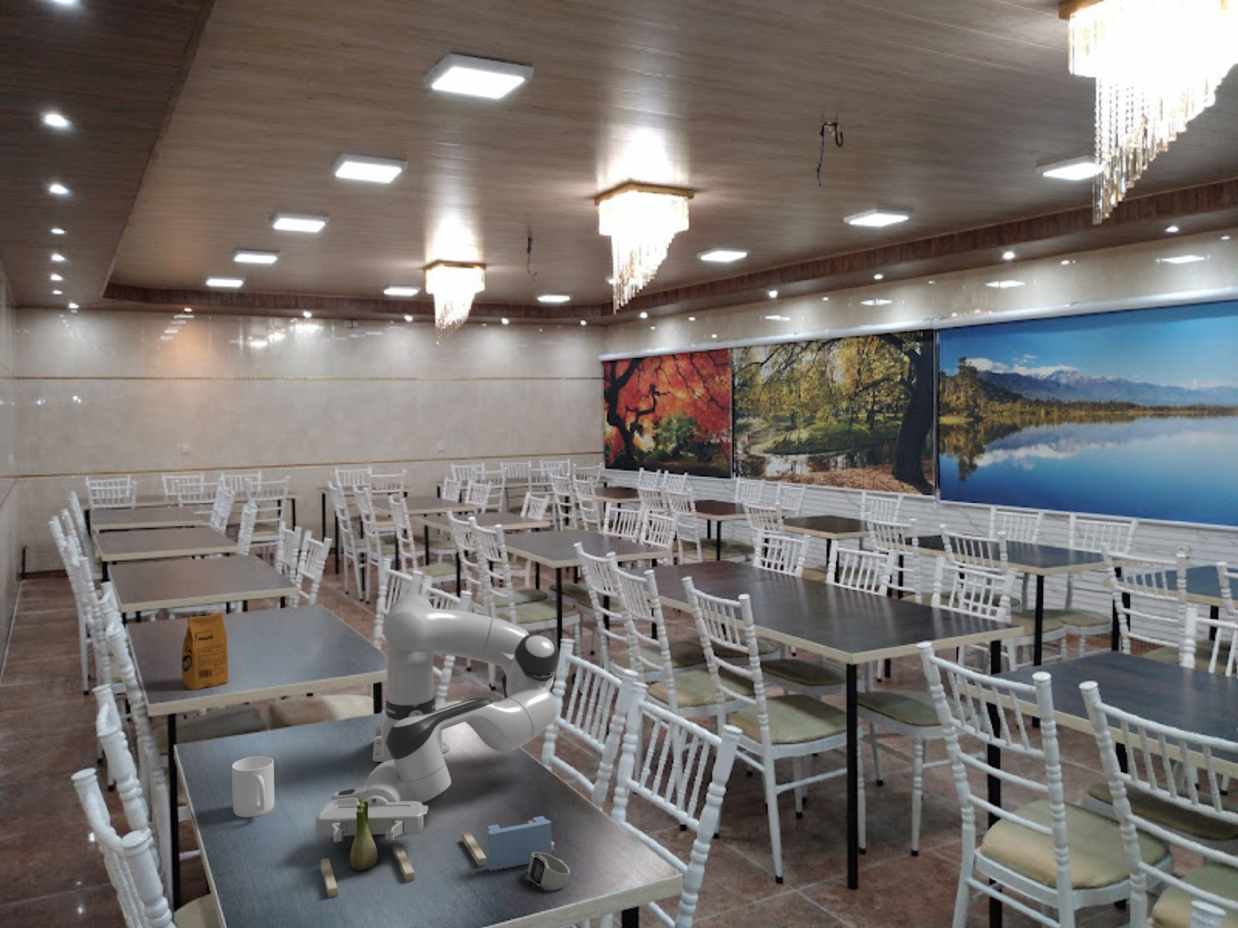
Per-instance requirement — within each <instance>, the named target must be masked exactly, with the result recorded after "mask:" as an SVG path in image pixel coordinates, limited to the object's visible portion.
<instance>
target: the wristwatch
mask: <svg viewBox="0 0 1238 928" xmlns="http://www.w3.org/2000/svg"><path fill="white" fill-rule="evenodd" d="M527 869H528V870H527V871H528V872H527V873H528V875H529V877H530V880H531V881H532V882H533V883H534V884H536V885H537V886H538V887H541V886H546V887H547V886H548V887H550V888H554V889H561V888H565V887H567V886H568V882H569V878H570V875H571V870H570V867H568V865H567V864H566V863H565V862H564V861H563V860H562V859H559V858H556V857H555V856H553V855H552V856H551V855H548V854H545V853H540V852H534V853H532V855H531V859H530V863H529V864H528V868H527Z"/></svg>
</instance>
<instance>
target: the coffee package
mask: <svg viewBox="0 0 1238 928" xmlns="http://www.w3.org/2000/svg"><path fill="white" fill-rule="evenodd" d="M224 622H225V621H224V616H223V613H222V612H221V611H220V612H215V613H214V614H210V615H207V616H187V624H188V626H187V629H186V634H185V636H184V638H183V639H184V640H183V645H182V651H181V654H182V655H181V678H182V679H181V681H182V682H183V686H184V687H186V688H188V690H192V691H197V690H198V691H199V690H201V689H203V688H214V687H218V686H221V685H224V684H227V683H228V682H229V663H228V661H229V660H228V657H229V656H228V639H227V637H228V636H227V630H226V627H225V623H224Z"/></svg>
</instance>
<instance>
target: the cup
mask: <svg viewBox="0 0 1238 928" xmlns="http://www.w3.org/2000/svg"><path fill="white" fill-rule="evenodd" d="M274 763H275V762H274V759H273V758H271V757H269V756H261V755H260V756H250V757H245V758H242V759H239V760H237V761H235V762H233V764H232V765H231V780H232V781H231V782H232V784H231V786H232V788H231V789H232V810H233V813H234V815H236V816H237V817H241V818H256V817H261V816H263V815H266V814H268V813H269V812H271V811H272V810H273V808H275V774H274V773H275V772H274V770H275V769H274V767H275V766H274Z"/></svg>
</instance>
